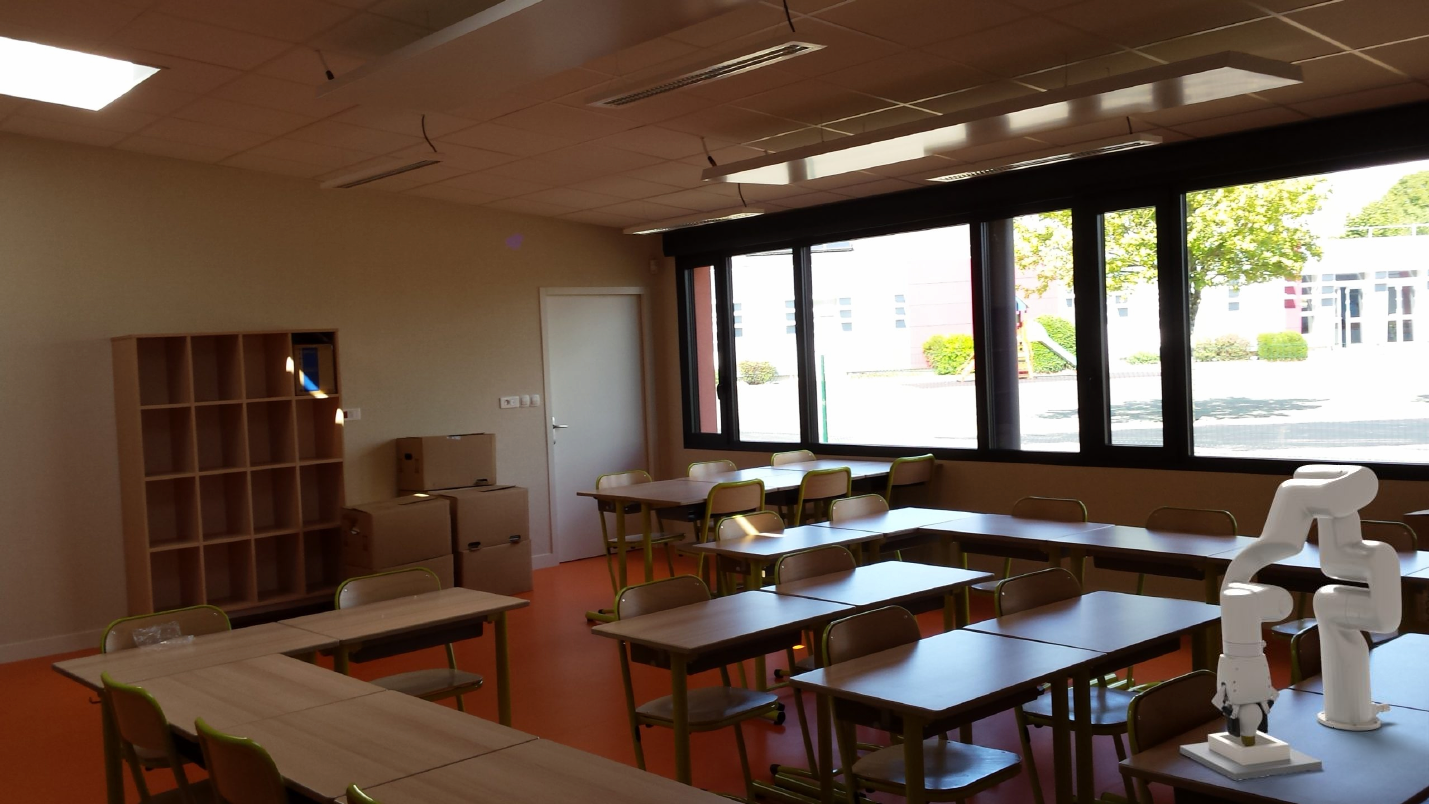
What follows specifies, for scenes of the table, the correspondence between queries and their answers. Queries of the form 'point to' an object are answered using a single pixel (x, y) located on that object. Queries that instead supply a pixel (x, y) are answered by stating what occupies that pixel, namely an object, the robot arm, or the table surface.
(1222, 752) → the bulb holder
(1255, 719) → the light bulb
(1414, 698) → the table surface
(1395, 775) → the table surface
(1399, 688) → the table surface
